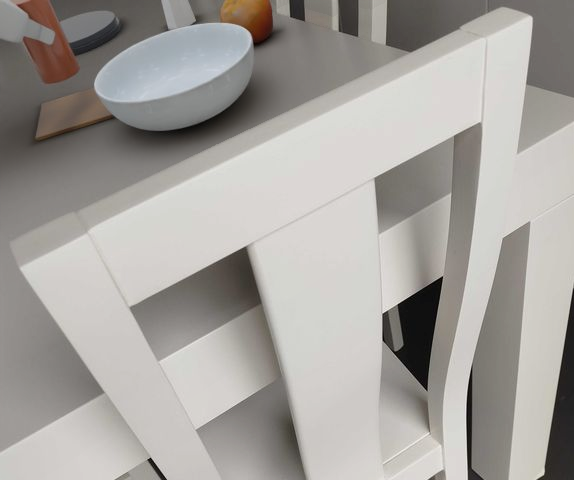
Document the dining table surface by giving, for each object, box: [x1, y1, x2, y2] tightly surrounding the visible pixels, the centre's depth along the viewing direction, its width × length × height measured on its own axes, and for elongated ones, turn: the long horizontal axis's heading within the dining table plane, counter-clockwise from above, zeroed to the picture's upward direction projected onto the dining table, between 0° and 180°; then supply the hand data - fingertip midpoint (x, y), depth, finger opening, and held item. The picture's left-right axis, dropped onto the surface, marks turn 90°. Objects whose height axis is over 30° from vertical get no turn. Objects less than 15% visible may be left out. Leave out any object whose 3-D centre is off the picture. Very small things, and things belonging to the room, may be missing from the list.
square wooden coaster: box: [34, 87, 116, 142], centre depth 87 cm, size 12×12×1 cm
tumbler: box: [11, 0, 81, 85], centre depth 79 cm, size 6×6×10 cm
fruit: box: [219, 0, 274, 44], centre depth 90 cm, size 8×8×8 cm
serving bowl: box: [93, 22, 255, 132], centre depth 77 cm, size 21×21×7 cm
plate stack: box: [59, 10, 122, 56], centre depth 109 cm, size 16×16×2 cm
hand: (46, 32), depth 79 cm, fingers closed on tumbler, 5 cm apart
